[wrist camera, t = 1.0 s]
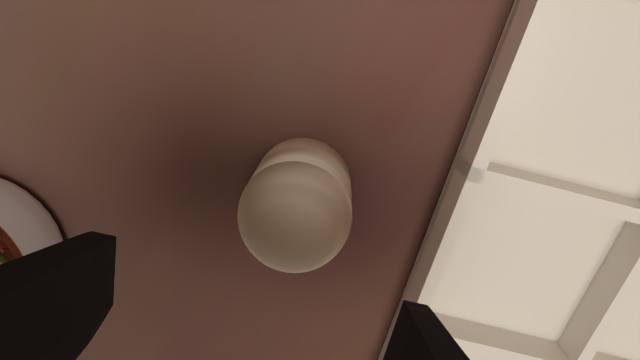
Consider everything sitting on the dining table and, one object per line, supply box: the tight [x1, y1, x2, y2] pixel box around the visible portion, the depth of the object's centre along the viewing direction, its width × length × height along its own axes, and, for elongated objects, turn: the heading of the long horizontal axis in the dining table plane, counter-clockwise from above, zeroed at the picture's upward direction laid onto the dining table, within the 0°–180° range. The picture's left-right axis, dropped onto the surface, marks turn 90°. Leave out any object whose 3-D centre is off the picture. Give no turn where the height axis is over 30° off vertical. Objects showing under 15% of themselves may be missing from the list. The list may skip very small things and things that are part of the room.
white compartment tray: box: [378, 0, 640, 360], centre depth 19 cm, size 25×17×2 cm
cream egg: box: [238, 137, 352, 273], centre depth 17 cm, size 4×4×6 cm
